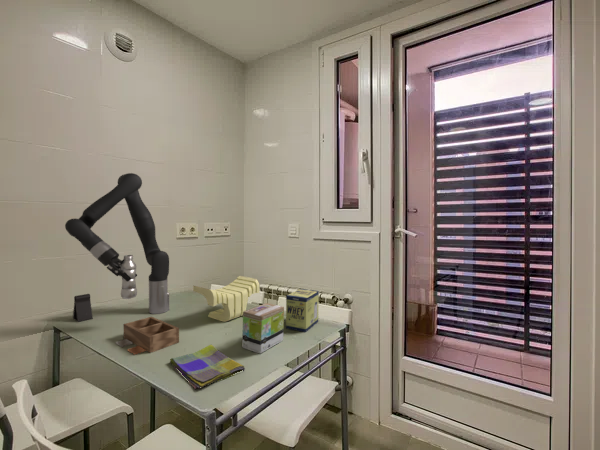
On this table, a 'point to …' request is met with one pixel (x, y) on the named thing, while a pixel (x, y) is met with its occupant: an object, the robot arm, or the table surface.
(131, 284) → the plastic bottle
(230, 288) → the slatted curved stool
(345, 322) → the table surface
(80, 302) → the black coffee bag
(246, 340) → the tea box
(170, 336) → the box
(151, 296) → the robot arm
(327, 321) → the table surface
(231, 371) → the dish towel
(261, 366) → the table surface
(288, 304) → the protein box
